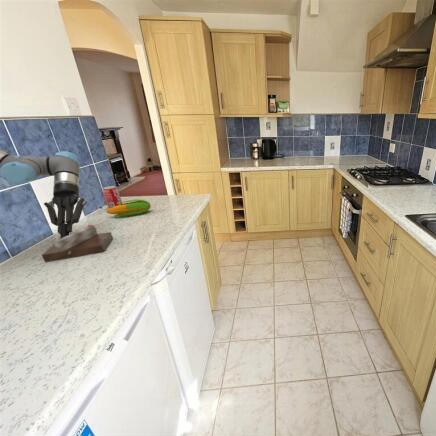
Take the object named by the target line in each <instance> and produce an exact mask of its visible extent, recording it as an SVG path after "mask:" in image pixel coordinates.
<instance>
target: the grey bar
mask: <svg viewBox="0 0 436 436" xmlns="http://www.w3.org/2000/svg"><path fill="white" fill-rule="evenodd" d="M97 234H99V233H98V230H97V228H96V226H95V225H94V224H89V225H87V226H86V227H83V228H81V229H78V230H77V231H74V232H71V233H69V235H67V236H65V237H63V238H61V239H60V238H59V239H56V240H53V244H55V247H56V249H57V251H59V252H63V251H65V250H67V249H69V248H71V247H73V246H75V245H77V244H79V243H81V242H83V241H85V240H87V239H89V238H91V237H93V236H95V235H97Z"/></svg>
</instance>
